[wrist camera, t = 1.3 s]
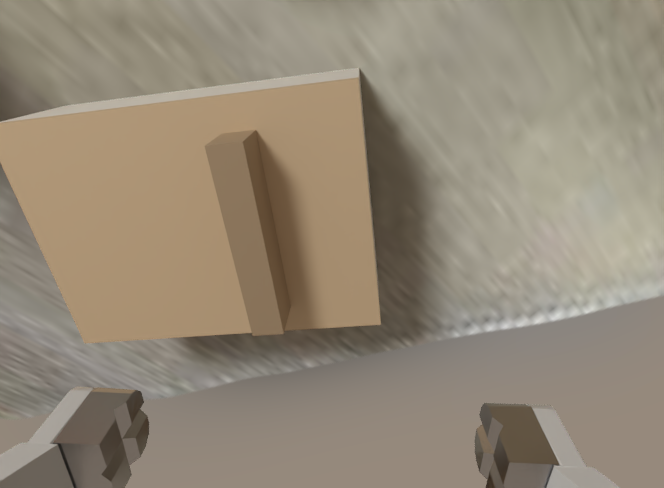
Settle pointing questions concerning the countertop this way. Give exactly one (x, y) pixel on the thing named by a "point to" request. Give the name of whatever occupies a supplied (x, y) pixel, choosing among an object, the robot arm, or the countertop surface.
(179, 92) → the base
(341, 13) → the countertop surface
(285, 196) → the tan box lid
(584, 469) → the robot arm
